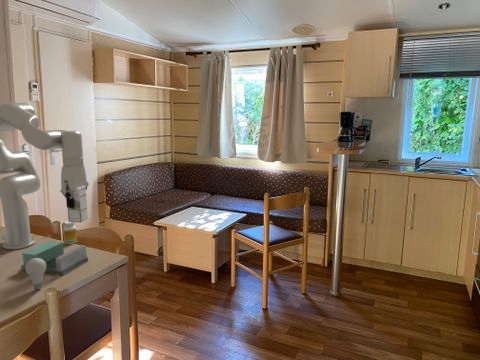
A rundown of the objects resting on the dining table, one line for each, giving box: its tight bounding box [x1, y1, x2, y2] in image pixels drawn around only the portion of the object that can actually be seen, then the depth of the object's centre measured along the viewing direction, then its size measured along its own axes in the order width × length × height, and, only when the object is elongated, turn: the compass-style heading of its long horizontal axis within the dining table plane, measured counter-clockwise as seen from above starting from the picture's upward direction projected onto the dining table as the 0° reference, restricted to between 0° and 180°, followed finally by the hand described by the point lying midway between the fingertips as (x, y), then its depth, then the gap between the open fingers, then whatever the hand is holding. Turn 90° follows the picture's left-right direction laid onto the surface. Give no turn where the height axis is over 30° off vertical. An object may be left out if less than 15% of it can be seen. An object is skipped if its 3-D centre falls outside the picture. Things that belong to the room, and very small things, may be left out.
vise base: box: [20, 244, 89, 276], centre depth 143 cm, size 19×14×6 cm
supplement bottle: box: [62, 220, 78, 245], centre depth 167 cm, size 5×5×10 cm
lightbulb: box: [25, 258, 46, 290], centre depth 123 cm, size 6×6×11 cm
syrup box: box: [67, 186, 89, 223], centre depth 150 cm, size 6×6×14 cm
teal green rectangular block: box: [22, 240, 65, 266], centre depth 144 cm, size 6×14×5 cm, turn 165°
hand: (76, 205), depth 150 cm, fingers closed on syrup box, 6 cm apart
